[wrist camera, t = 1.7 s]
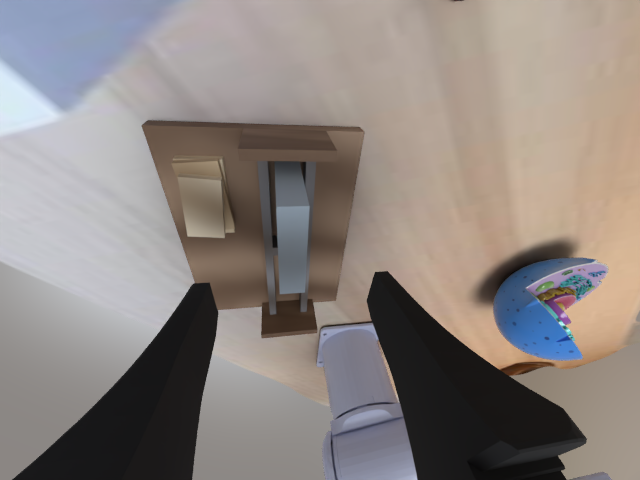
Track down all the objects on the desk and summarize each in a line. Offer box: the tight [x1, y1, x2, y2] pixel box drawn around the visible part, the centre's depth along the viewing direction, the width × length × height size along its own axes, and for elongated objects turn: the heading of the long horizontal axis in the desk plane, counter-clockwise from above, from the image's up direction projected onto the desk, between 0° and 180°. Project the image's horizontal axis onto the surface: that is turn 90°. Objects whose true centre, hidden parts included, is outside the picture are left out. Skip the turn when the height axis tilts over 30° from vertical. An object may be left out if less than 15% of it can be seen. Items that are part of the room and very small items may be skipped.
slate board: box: [275, 161, 310, 294], centre depth 16 cm, size 6×2×6 cm, turn 176°
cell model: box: [493, 258, 609, 361], centre depth 27 cm, size 10×12×10 cm
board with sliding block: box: [142, 121, 364, 338], centre depth 20 cm, size 17×13×4 cm
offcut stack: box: [171, 156, 236, 238], centre depth 17 cm, size 6×3×2 cm, turn 176°
